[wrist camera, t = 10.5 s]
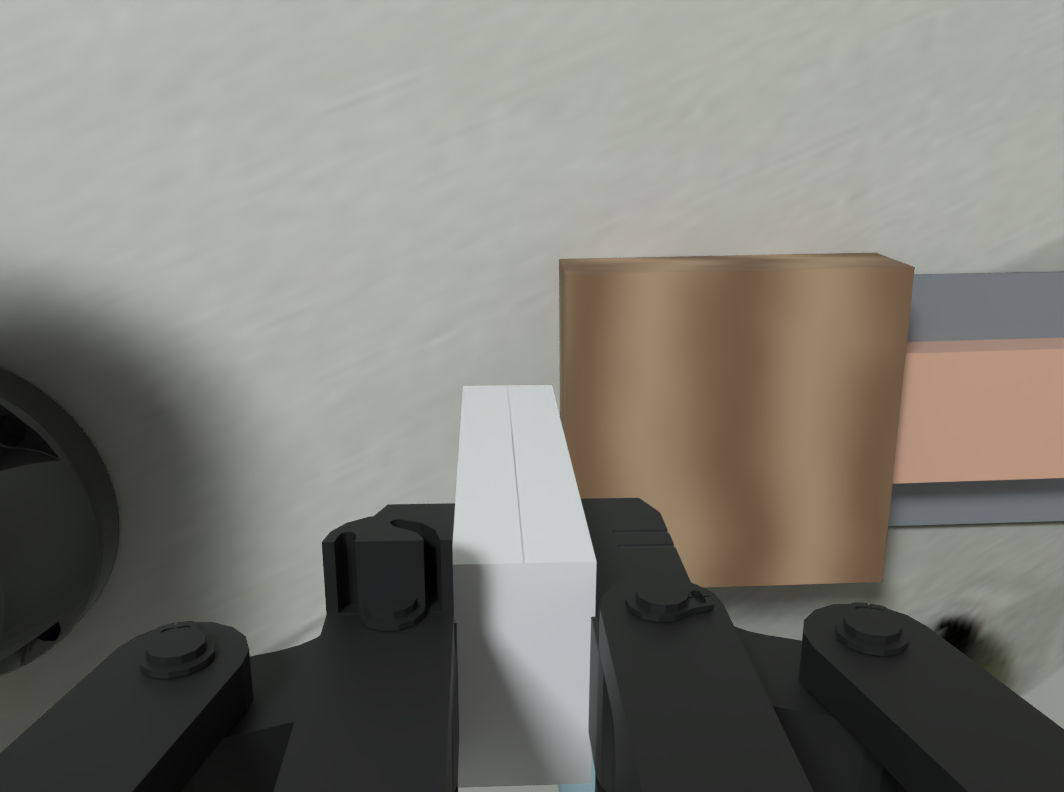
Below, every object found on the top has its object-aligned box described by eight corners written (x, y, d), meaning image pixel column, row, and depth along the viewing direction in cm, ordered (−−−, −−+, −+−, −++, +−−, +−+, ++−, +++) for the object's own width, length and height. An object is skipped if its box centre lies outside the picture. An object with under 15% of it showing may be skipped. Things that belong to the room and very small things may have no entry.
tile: (862, 467, 44) (879, 484, 42) (874, 343, 43) (891, 354, 41) (1052, 461, 45) (1077, 477, 43) (1070, 337, 43) (1097, 348, 41)
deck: (560, 551, 45) (567, 591, 42) (559, 259, 41) (566, 274, 38) (849, 542, 46) (882, 581, 42) (876, 252, 42) (914, 267, 38)
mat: (872, 523, 46) (875, 526, 45) (896, 274, 42) (899, 276, 42) (1156, 514, 46) (1162, 518, 46) (1203, 268, 43) (1209, 270, 42)
